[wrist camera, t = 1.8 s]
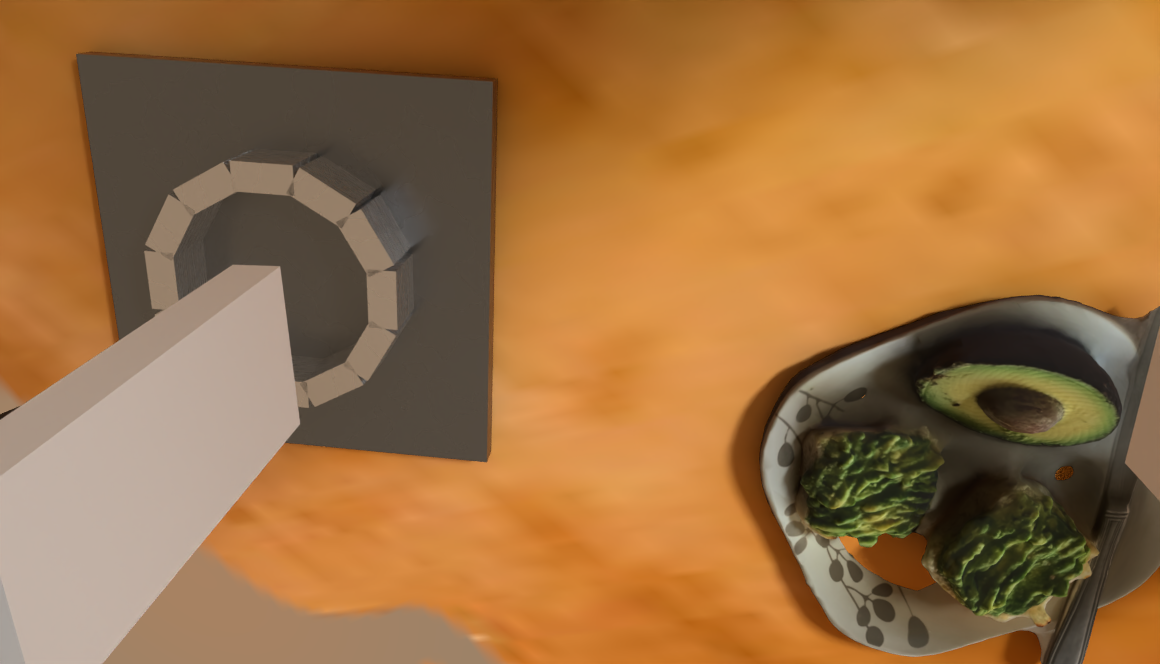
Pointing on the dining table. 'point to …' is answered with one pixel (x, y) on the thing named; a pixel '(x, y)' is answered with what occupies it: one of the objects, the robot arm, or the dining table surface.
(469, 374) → the ring collar
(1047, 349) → the salad plate
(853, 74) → the dining table surface
